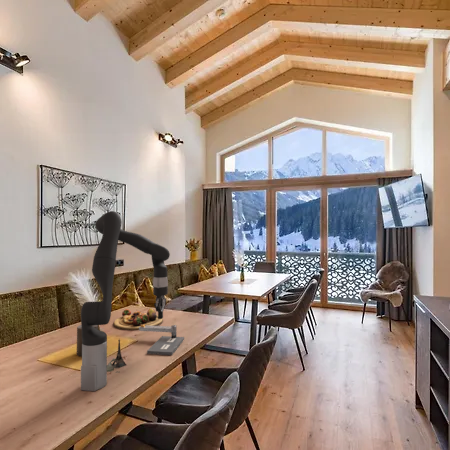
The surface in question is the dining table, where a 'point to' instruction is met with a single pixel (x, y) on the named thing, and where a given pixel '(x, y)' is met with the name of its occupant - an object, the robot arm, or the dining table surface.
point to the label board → (165, 345)
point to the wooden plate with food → (137, 320)
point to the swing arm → (159, 329)
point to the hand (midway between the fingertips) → (160, 318)
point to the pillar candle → (79, 339)
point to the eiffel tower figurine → (118, 361)
